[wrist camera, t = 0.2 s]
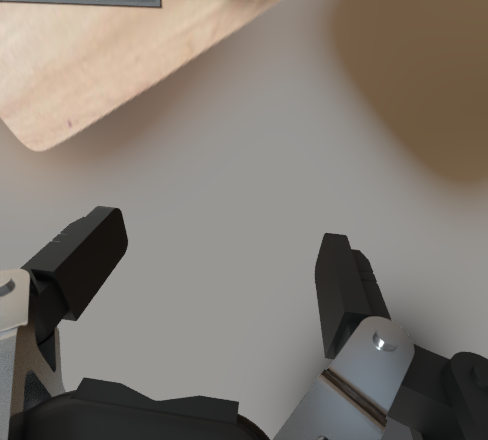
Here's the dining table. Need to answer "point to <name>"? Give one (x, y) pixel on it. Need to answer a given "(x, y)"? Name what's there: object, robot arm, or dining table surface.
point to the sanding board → (102, 2)
